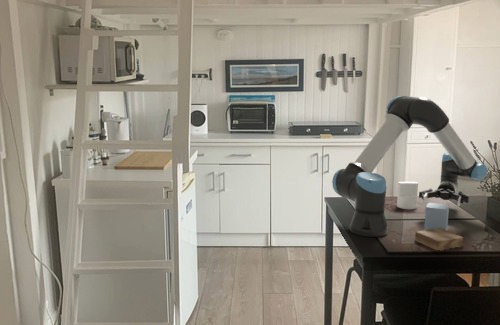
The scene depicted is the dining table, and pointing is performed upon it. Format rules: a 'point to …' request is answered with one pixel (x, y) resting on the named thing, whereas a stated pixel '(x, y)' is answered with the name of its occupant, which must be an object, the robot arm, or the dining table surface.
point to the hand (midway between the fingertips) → (441, 201)
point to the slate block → (436, 216)
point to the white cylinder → (407, 195)
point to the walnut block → (439, 239)
